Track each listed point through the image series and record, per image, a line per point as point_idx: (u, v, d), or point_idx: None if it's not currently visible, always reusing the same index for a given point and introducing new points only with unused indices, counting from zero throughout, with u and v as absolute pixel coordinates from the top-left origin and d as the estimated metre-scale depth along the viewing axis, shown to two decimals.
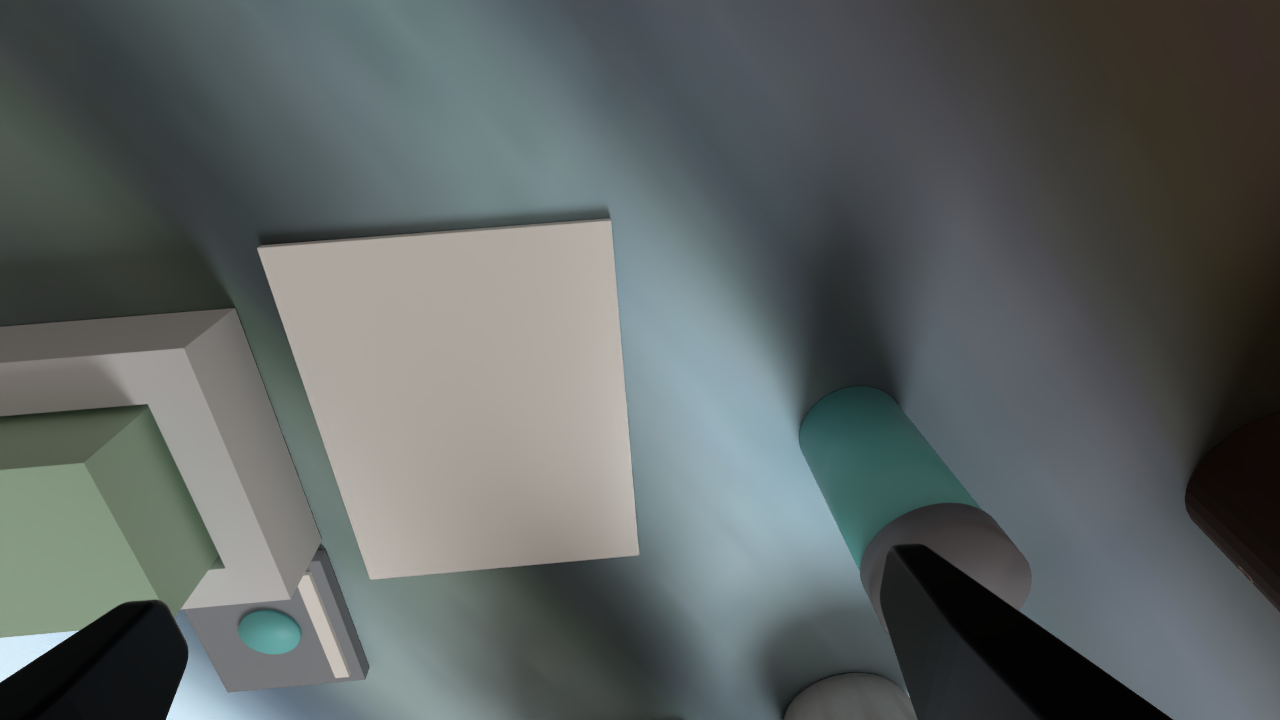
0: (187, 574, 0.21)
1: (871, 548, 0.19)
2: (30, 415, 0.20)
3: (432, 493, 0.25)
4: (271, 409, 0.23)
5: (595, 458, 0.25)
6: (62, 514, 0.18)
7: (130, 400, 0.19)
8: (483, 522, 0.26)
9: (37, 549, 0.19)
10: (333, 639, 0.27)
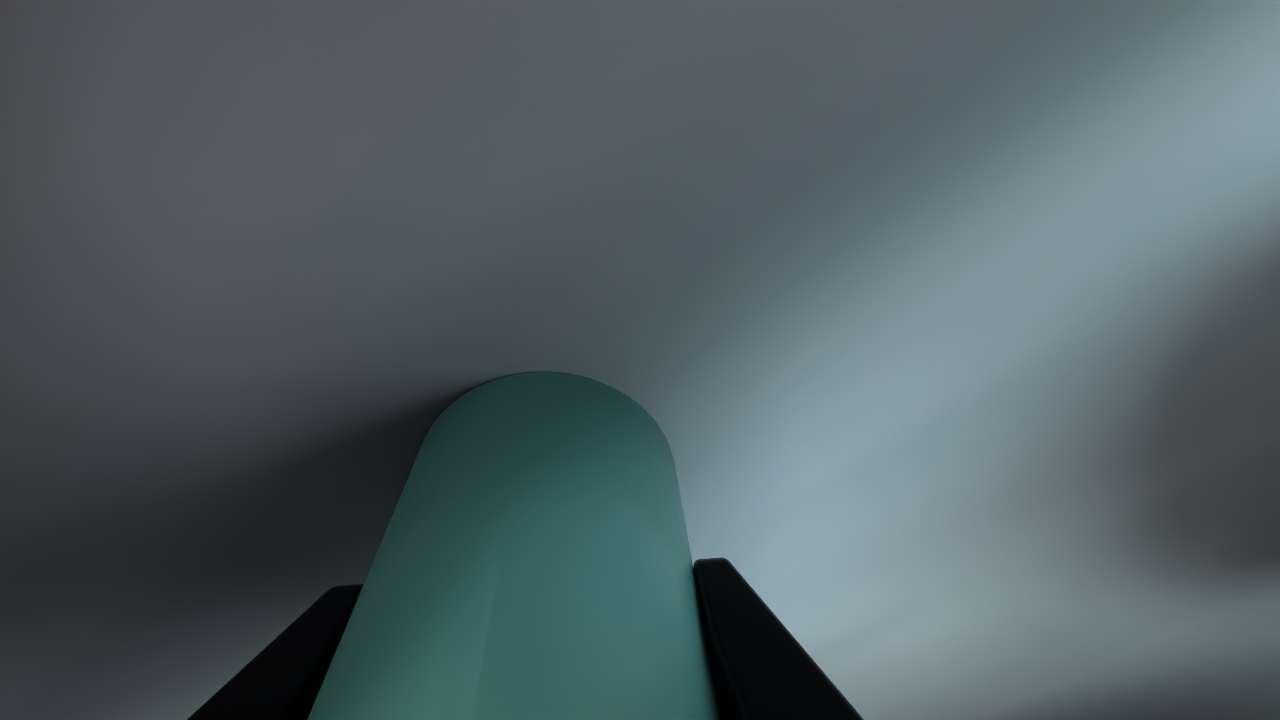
0: None
1: None
2: None
3: None
4: None
5: None
6: None
7: None
8: None
9: None
10: None
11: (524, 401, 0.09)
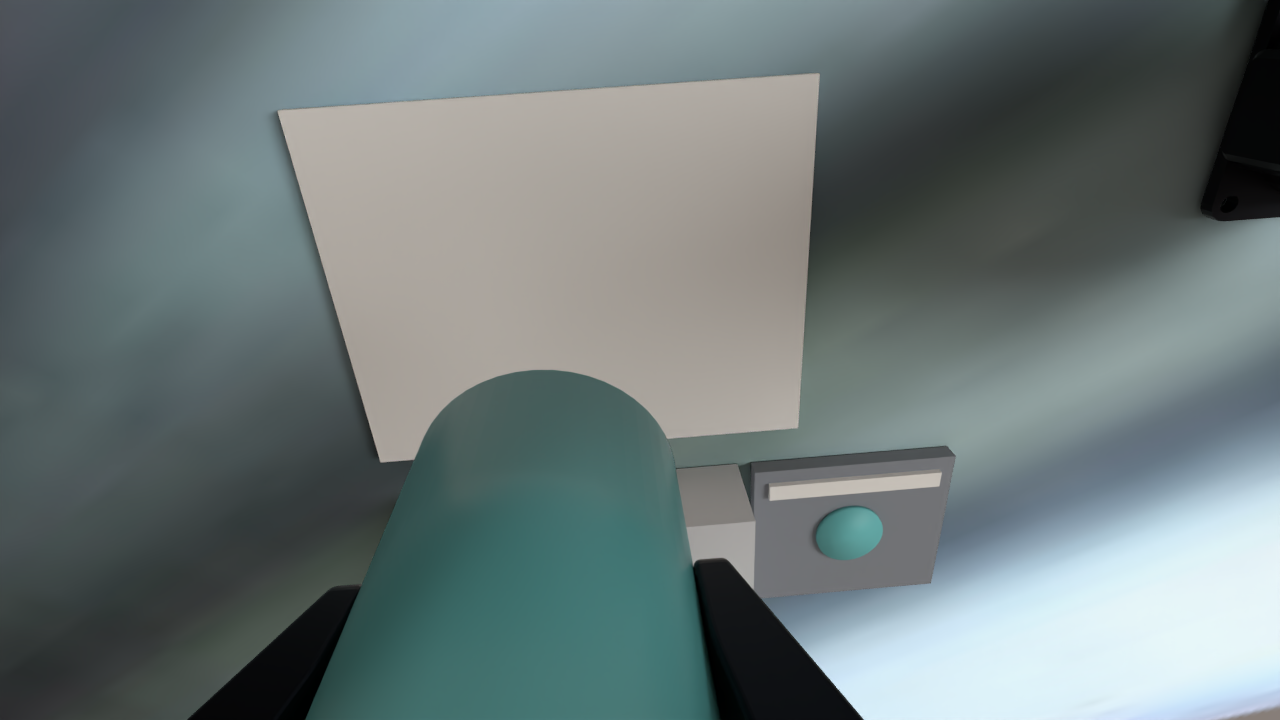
0: None
1: None
2: None
3: (675, 348, 0.20)
4: None
5: (631, 140, 0.18)
6: None
7: None
8: (726, 295, 0.20)
9: None
10: (874, 479, 0.23)
11: (523, 399, 0.09)
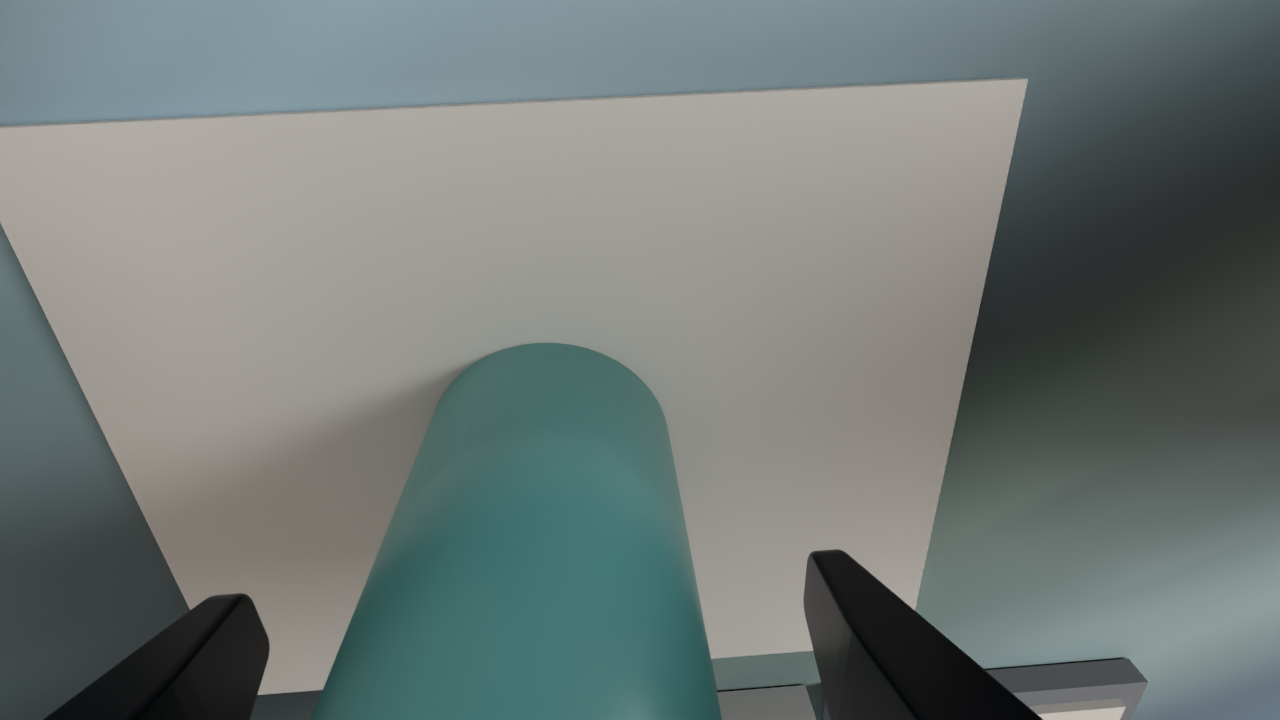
0: None
1: None
2: None
3: (720, 535, 0.12)
4: None
5: (661, 197, 0.09)
6: None
7: None
8: (813, 455, 0.11)
9: None
10: None
11: (529, 368, 0.09)
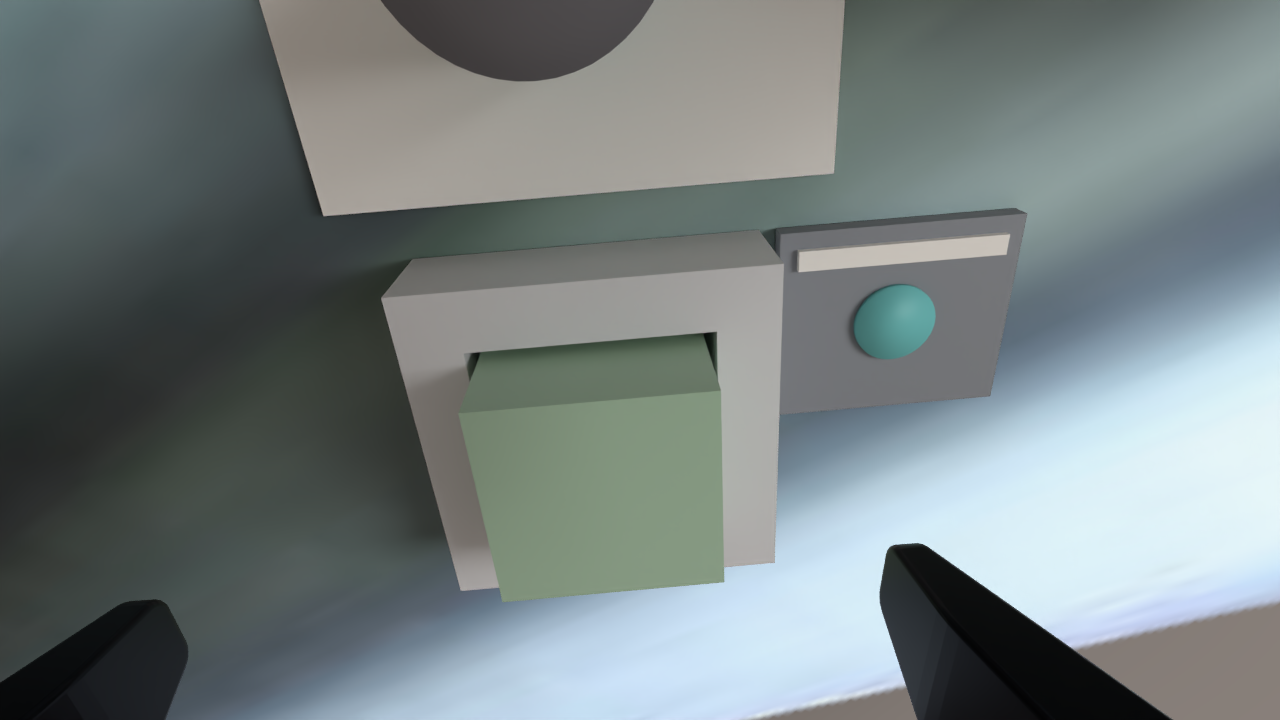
0: (685, 366, 0.16)
1: None
2: None
3: (681, 51, 0.16)
4: (545, 248, 0.19)
5: None
6: (537, 453, 0.15)
7: (460, 368, 0.17)
8: None
9: (589, 490, 0.16)
10: (927, 242, 0.19)
11: None
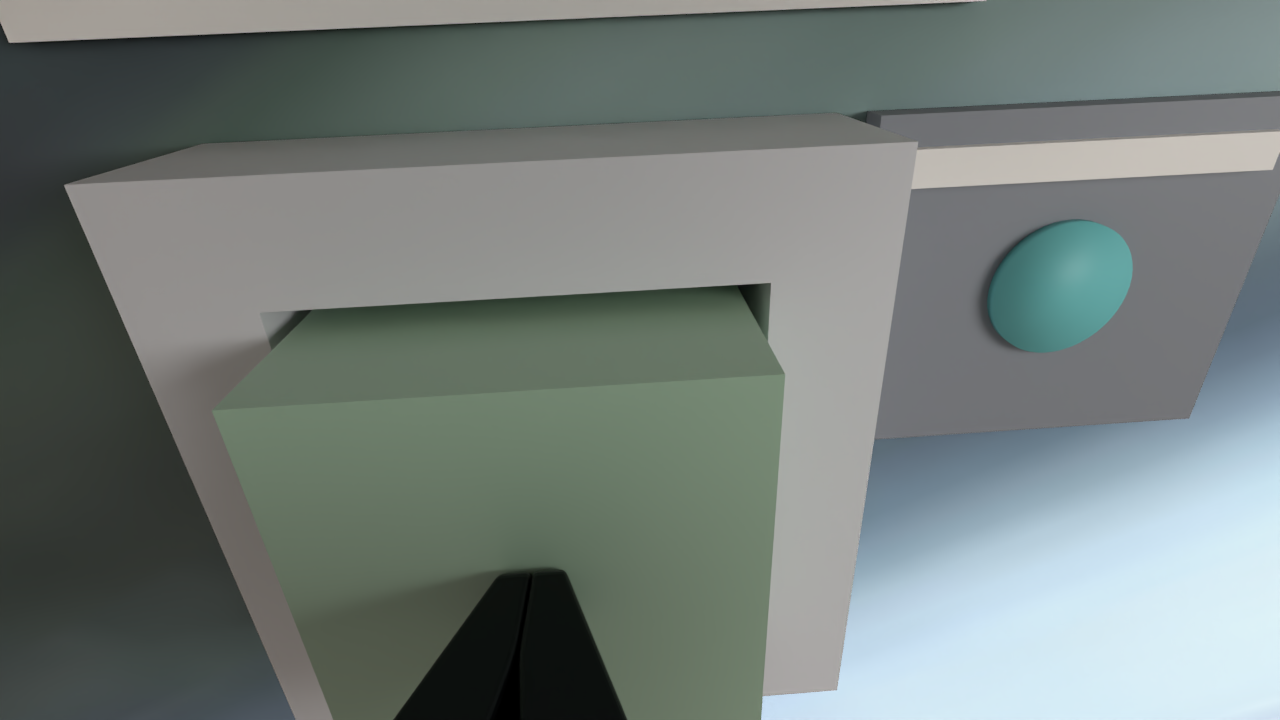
0: (705, 327, 0.08)
1: None
2: None
3: None
4: (450, 132, 0.10)
5: None
6: (394, 498, 0.07)
7: (255, 344, 0.09)
8: None
9: (507, 570, 0.08)
10: (1142, 140, 0.10)
11: None
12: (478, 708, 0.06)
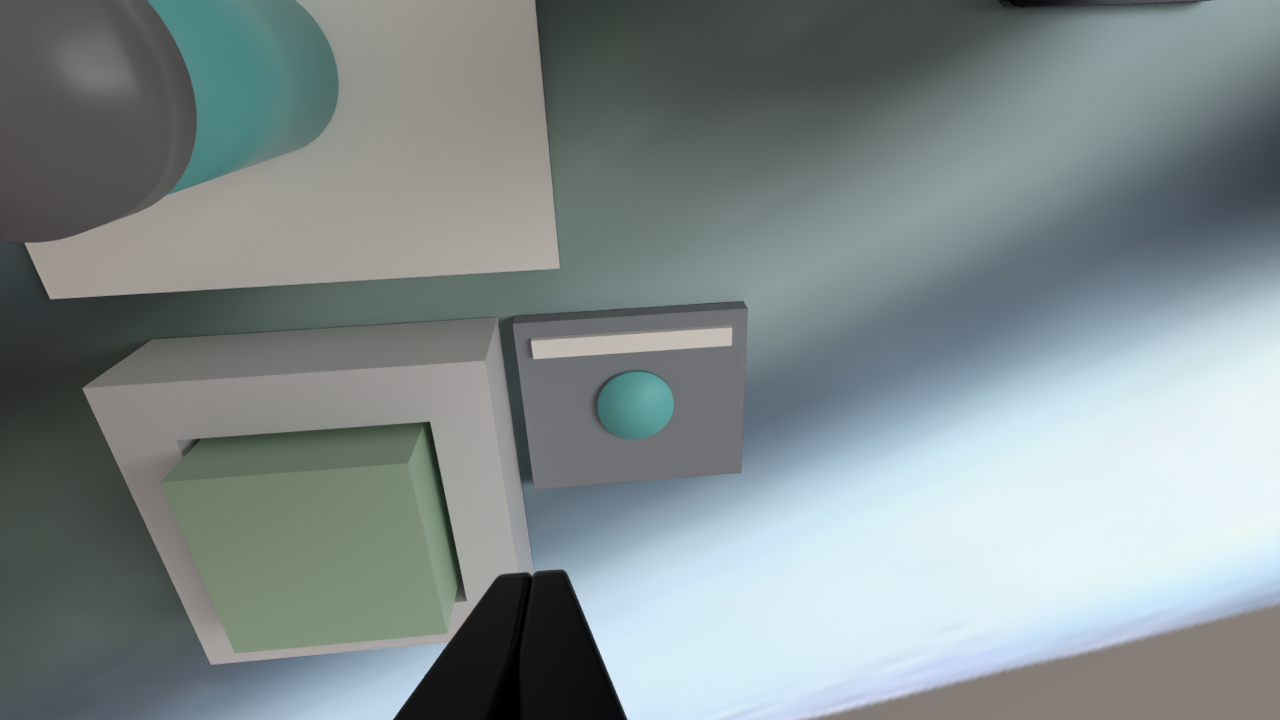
0: (394, 437, 0.18)
1: None
2: None
3: (393, 155, 0.17)
4: (286, 331, 0.19)
5: None
6: (243, 518, 0.17)
7: (174, 454, 0.17)
8: (445, 84, 0.17)
9: (300, 550, 0.17)
10: (654, 333, 0.20)
11: None
12: (478, 708, 0.06)
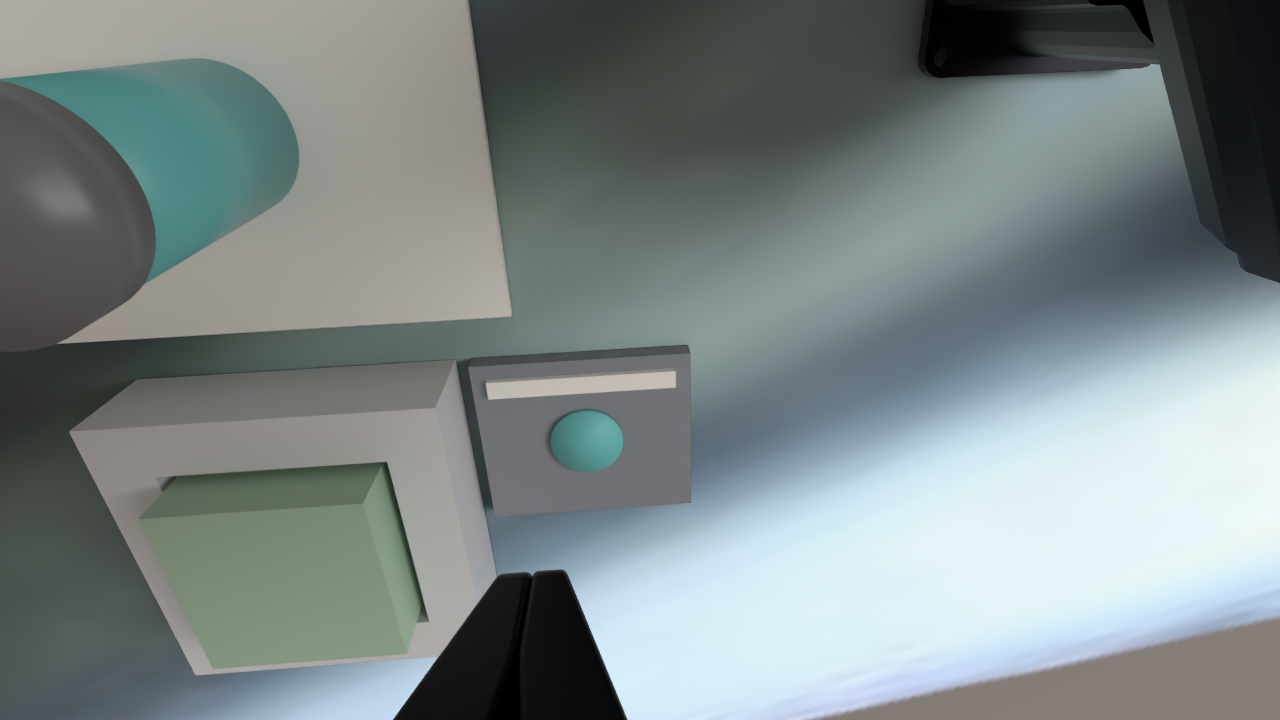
0: (353, 475, 0.19)
1: None
2: None
3: (351, 216, 0.18)
4: (259, 373, 0.21)
5: None
6: (215, 550, 0.18)
7: (154, 489, 0.19)
8: (397, 152, 0.18)
9: (268, 579, 0.19)
10: (601, 376, 0.21)
11: None
12: (478, 708, 0.06)
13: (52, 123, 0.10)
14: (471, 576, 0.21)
